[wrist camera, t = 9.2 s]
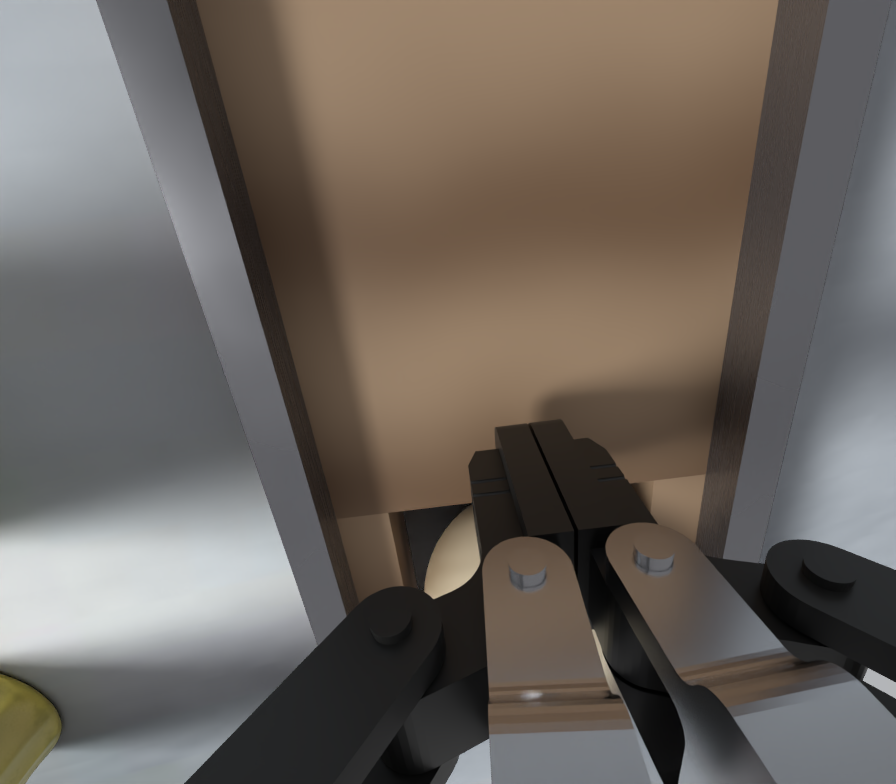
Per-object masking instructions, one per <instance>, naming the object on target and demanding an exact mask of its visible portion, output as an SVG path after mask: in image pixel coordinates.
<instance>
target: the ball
mask: <svg viewBox="0 0 896 784" xmlns="http://www.w3.org/2000/svg"><path fill="white" fill-rule="evenodd" d="M479 564H480V556H479V549H478V542H477V536H476V529H475V523H474V515H473V506H472V504H471V505H470V506H469V507H467V508H466V509H465V510H463V511H462V512H461V513H460V514H459V515H458V516H457V517H456V518H455V519H454V520H453V521H452V522H451V523H450V524H449V526H448V527H447V528H446V529H445V531H444V532H443V534H442V535H441V537H440V539H439V540H438V542H437V544H436V546H435V548H434V551H433V553H432V555H431V558H430V561H429V565H428V568H427V573H426V579H425V587H424V592H425V593H427V594H428V595H430V596H431V597H432V598H433V599H435V598H438V597H440V596H442V595H445V594H447V593H449V592H451V591H453V590H455V589H457V588H459V587H460V586H462V585H463V584H465V583H466V582H467V581H468V580H469V579H470V578H471V577H472V576H473V575H474V574H475V572H476V570H477V569H478V567H479ZM592 632H593V636H594V639H595V642H596V646H597V649H598V653H599V656H601V645H600V643H599V640H598V638H597V635H596V633H595V630H592Z"/></svg>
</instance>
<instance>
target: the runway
mask: <svg viewBox="0 0 896 784" xmlns="http://www.w3.org/2000/svg"><path fill="white" fill-rule="evenodd" d="M96 1H97V4H98V7H99V10H100V13H101V16H102V19H103V22H104V25H105V28H106V31H107V33H108V36H109V39H110V42H111V45H112V48H113V51H114V54H115V57H116V60H117V63H118V65H119V68H120V71H121V74H122V77H123V80H124V83H125V86H126V89H127V92H128V95H129V97H130V100H131V103H132V106H133V109H134V112H135V115H136V118H137V121H138V124H139V127H140V129H141V132H142V135H143V138H144V141H145V144H146V147H147V150H148V153H149V156H150V159H151V161H152V164H153V167H154V170H155V173H156V176H157V179H158V182H159V185H160V188H161V191H162V193H163V196H164V199H165V202H166V205H167V208H168V211H169V214H170V217H171V220H172V223H173V225H174V228H175V231H176V234H177V237H178V240H179V243H180V246H181V249H182V252H183V255H184V257H185V260H186V263H187V266H188V269H189V272H190V275H191V278H192V281H193V284H194V287H195V289H196V292H197V295H198V298H199V301H200V304H201V307H202V310H203V313H204V316H205V319H206V321H207V324H208V327H209V330H210V333H211V336H212V339H213V342H214V345H215V348H216V351H217V353H218V356H219V359H220V362H221V365H222V368H223V371H224V374H225V377H226V380H227V383H228V385H229V388H230V391H231V394H232V397H233V400H234V403H235V406H236V409H237V412H238V415H239V417H240V420H241V423H242V426H243V429H244V432H245V435H246V438H247V441H248V444H249V447H250V449H251V452H252V455H253V458H254V461H255V464H256V467H257V470H258V473H259V476H260V479H261V481H262V484H263V487H264V490H265V493H266V496H267V499H268V502H269V505H270V508H271V511H272V513H273V516H274V519H275V522H276V525H277V528H278V531H279V534H280V537H281V540H282V543H283V546H284V548H285V551H286V554H287V557H288V560H289V563H290V566H291V569H292V572H293V575H294V578H295V580H296V583H297V586H298V589H299V592H300V595H301V598H302V601H303V604H304V607H305V610H306V612H307V615H308V618H309V621H310V624H311V627H312V630H313V633H314V636H315V639H316V642H317V644H318V645H319V644H320V643H321V642H322V641H323V640H324V639H325V638H326V637H327V636H328V635H329V634H330V633H331V632H332V631H333V630H334V629H335V628H336V627H337V626H338V625H339V624H340V623H341V622H342V621H343V620H344V619H345V618H346V616H347V615H348V614H349V613H350V612H351V611H352V610H353V609H354V608H355V607H356V606H357V605H358V604H359V603H360V602H362V601H363V600H364V599H365V598H367V597H368V596H370V595H371V594H373V593H375V592H377V591H380V590H382V589H385V588H389V587H395V586H409V587H413V588H417V589H418V586H417V581H416V576H415V571H414V566H413V560H412V555H411V550H410V545H409V539H408V534H407V529H406V524H405V518H404V513H403V511H408V510H416V509H424V508H433V507H441V506H449V505H457V504H466V503H472V497H471V488H470V478H469V469H468V465H469V463H470V461H471V459H472V457H473V455H474V453H475V451H483V450H491V449H496V447H495V427H499V426H508V425H516V424H524V423H527V424H528V423H531V422H540V421H548V420H556V419H561V420H562V421H563V422H564V424H565V425H566V427H567V429H568V431H569V432H570V434H571V436H572V437H573V439H580V438H589V439H591V440H593V441H594V442H596V443H597V444H599V445H601V446H602V447H604V448H605V449H606V450H607V451H608V453H609V454H610V456H611V457H612V458H613V460H614V461H615V463H616V466H618V467H619V469H620V470H621V471H622V473H623V474H624V477H625V479H627V480H628V482H629V483H630V484H631V486H632V487H633V489H634V490H635V492H636V493H637V495H638V496H639V497H640V499H641V500H642V502H643V503H644V505H645V506H646V507H647V509H648V510H649V512H650V513H651V515H652V516H653V518H654V519H655V520H656V522H657V523H658V525H662V526H665V527H668V528H671V529H673V530H675V531H678V532H679V533H681V534H683V535H684V536H686V537H687V538H688V539H690V540H691V541H692V542H693V543H694V544H695V545H696V546H697V547H698V548H699V550H700V551H701V552H702V553H703V554H704V555H707V556H710V557H715V558H721V559H729V560H737V561H745V562H753V563H759V559H760V555H761V551H762V547H763V542H764V538H765V534H766V530H767V525H768V521H769V517H770V513H771V508H772V504H773V500H774V496H775V492H776V487H777V483H778V479H779V475H780V470H781V466H782V462H783V458H784V453H785V449H786V445H787V441H788V436H789V432H790V428H791V424H792V420H793V415H794V411H795V407H796V403H797V398H798V394H799V390H800V386H801V381H802V377H803V373H804V369H805V364H806V360H807V356H808V352H809V347H810V343H811V339H812V335H813V331H814V326H815V322H816V318H817V314H818V309H819V305H820V301H821V297H822V292H823V288H824V284H825V280H826V275H827V271H828V267H829V263H830V258H831V254H832V250H833V246H834V242H835V237H836V233H837V229H838V225H839V220H840V216H841V212H842V208H843V203H844V199H845V195H846V191H847V186H848V182H849V178H850V174H851V169H852V165H853V161H854V157H855V153H856V148H857V144H858V140H859V136H860V131H861V127H862V123H863V119H864V114H865V110H866V106H867V102H868V97H869V93H870V89H871V85H872V80H873V76H874V72H875V68H876V64H877V59H878V55H879V51H880V47H881V42H882V38H883V34H884V30H885V25H886V21H887V17H888V13H889V8H890V4H891V0H96Z"/></svg>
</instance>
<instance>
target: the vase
mask: <svg viewBox="0 0 896 784" xmlns="http://www.w3.org/2000/svg"><path fill="white" fill-rule="evenodd" d="M61 727H62V724H61V720H60V717H59V714H58V712H57V710H56V709H55V707H54V706H53V704H52V703H51V702H50V701H49V700H48V699H47V698H46V697H44V696H43V695H42V694H41V693H39V692H38V691H37V690H35V689H34V688H32V687H31V686H29V685H27V684H25V683H23V682H21V681H19V680H17V679H14V678H11V677H8V676H6V675H2V674H0V784H25V783H26V782H27V780H28V779H29V777H30V776H31V774H32V773H33V772H34V770H35V769H36V768H37V767H38V765H39V764H40V763H41V762H42V761H43V760H44V758H45V757H46V756H47V755H48V754H49V753H50V752H51V750H52V749H53V748H54V746H55V745H56V743H57V741H58V739H59V737H60V733H61Z"/></svg>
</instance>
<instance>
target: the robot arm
mask: <svg viewBox="0 0 896 784" xmlns="http://www.w3.org/2000/svg"><path fill="white" fill-rule="evenodd" d="M495 447H496V449H491V450H483V451H475V453H474V455H473V457H472V459H471V461H470V463H469V465H468V469H469V478H470V488H471V497H472V506H473V515H474V523H475V529H476V536H477V542H478V549H479V556H480V564H479V567H478V569H477V570H476V572H475V574H474V575H473V576H472V577H471V578H470V579H469V580H468V581H467V582H466V583H465V584H463V585H462V586H460V587H459V588H457V589H455V590H453V591H451V592H449V593H447V594H445V595H442V596H440V597H438V598H435V599H433V598H432V597H431V596H430V595H428V594H427V593H425V592H424V591H422V590H419V589H417V588H413V587H409V586H395V587H389V588H385V589H382V590H380V591H377V592H375V593H373V594H371V595H370V596H368V597H367V598H365V599H364V600H363V601H362V602H360V603H359V604H358V605H357V606H356V607H355V608H354V609H353V610H352V611H351V612H350V613H349V614H348V615H347V616H346V618H345V619H344V620H343V621H342V622H341V623H340V624H339V625H338V626H337V627H336V628H335V629H334V630H333V631H332V632H331V633H330V634H329V635H328V636H327V637H326V638H325V639H324V640H323V641H322V642H321V643H320V644H319V645H318V646H317V647H316V648H315V649H314V650H313V652H312V653H311V654H310V655H309V656H308V657H307V658H306V659H305V660H304V661H303V662H302V663H301V664H300V665H299V666H298V667H297V668H296V669H295V670H294V671H293V672H292V673H291V674H290V675H289V676H288V677H287V678H286V679H285V680H284V681H283V682H282V683H281V684H280V686H279V687H278V688H277V689H276V690H275V691H274V692H273V693H272V694H271V695H270V696H269V697H268V698H267V699H266V700H265V701H264V702H263V703H262V704H261V705H260V706H259V707H258V708H257V709H256V710H255V711H254V712H253V713H252V714H251V715H250V716H249V717H248V718H247V720H246V721H245V722H244V723H243V724H242V725H241V726H240V727H239V728H238V729H237V730H236V731H235V732H234V733H233V734H232V735H231V736H230V737H229V738H228V739H227V740H226V741H225V742H224V743H223V744H222V745H221V746H220V747H219V748H218V749H217V750H216V751H215V752H214V754H213V755H212V756H211V757H210V758H209V759H208V760H207V761H206V762H205V763H204V764H203V765H202V766H201V767H200V768H199V769H198V770H197V771H196V772H195V773H194V774H193V775H192V776H191V777H190V778H189V779H188V780H187V781H186V782H185V783H184V784H445V783H446V782H447V780H448V778H449V776H450V775H451V773H452V771H453V769H454V767H455V765H456V763H457V761H458V758H459V755H460V754H462V753H464V752H465V751H467V750H469V749H471V748H473V747H474V746H476V745H478V744H480V743H482V742H483V741H485V740H487V739H489V741H490V761H491V780H492V784H896V699H895V698H893V697H892V696H890V695H888V694H886V693H884V692H882V691H880V690H879V689H877V688H875V687H873V686H871V685H869V684H868V683H866V682H864V681H863V678H864V676H865V673H866V671H867V669H868V668H870V669H871V670H873V671H875V672H877V673H879V674H881V675H883V676H885V677H887V678H889V679H890V680H893V681H894V682H896V570H894V569H891V568H889V567H886V566H884V565H881V564H879V563H876V562H874V561H871V560H868V559H866V558H863V557H861V556H858V555H856V554H853V553H851V552H848V551H845V550H843V549H840V548H838V547H835V546H832V545H829V544H825V543H821V542H816V541H810V540H788V541H783V542H780V543H777V544H776V545H774V546H772V548H771V549H770V550H769V551H768V554H767V556H766V560H765V564H761V563H753V562H745V561H737V560H729V559H721V558H715V557H710V556H707V555H704V554H703V553H702V552H701V551H700V550H699V548H698V547H697V546H696V545H695V544H694V543H693V542H692V541H691V540H690V539H688V538H687V537H686V536H684V535H683V534H681V533H679V532H678V531H675V530H673V529H671V528H668V527H665V526H662V525H658V523H657V522H656V520H655V519H654V518H653V516H652V515H651V513H650V512H649V510H648V509H647V507H646V506H645V505H644V503H643V502H642V500H641V499H640V497H639V496H638V495H637V493H636V492H635V490H634V489H633V487H632V486H631V484H630V483H629V482H628V480H627V479H625V477H624V474H623V473H622V471H621V470H620V469H619V467H618V466H616V463H615V461H614V460H613V458H612V457H611V456H610V454H609V453H608V451H607V450H606V449H605V448H604V447H602V446H601V445H599V444H597V443H596V442H594V441H593V440H591V439H589V438H580V439H573V437H572V436H571V434H570V432H569V431H568V429H567V427H566V425H565V424H564V422H563V421H562V420H561V419H556V420H548V421H540V422H531V423H528V424H527V423H524V424H516V425H508V426H499V427H495ZM592 630H595V633H596V635H597V638H598V640H599V643H600V645H601V656H599V653H598V649H597V646H596V642H595V639H594V636H593V632H592Z"/></svg>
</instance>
